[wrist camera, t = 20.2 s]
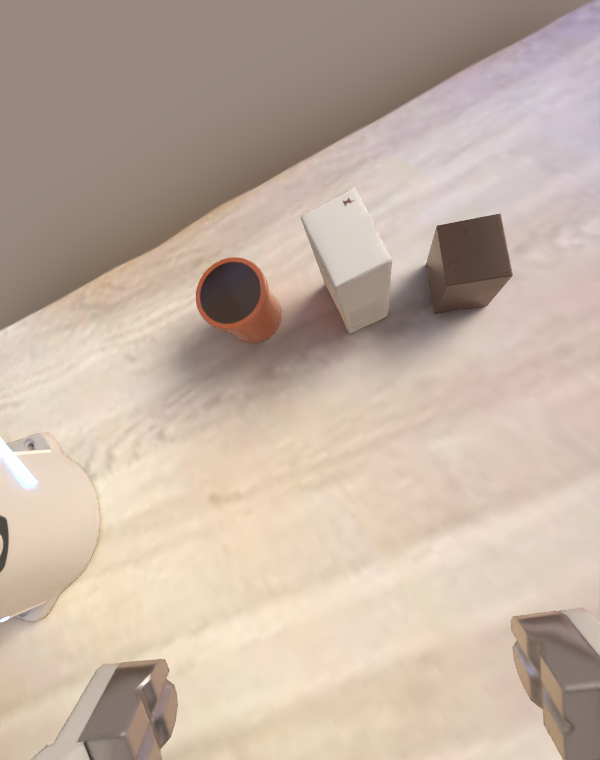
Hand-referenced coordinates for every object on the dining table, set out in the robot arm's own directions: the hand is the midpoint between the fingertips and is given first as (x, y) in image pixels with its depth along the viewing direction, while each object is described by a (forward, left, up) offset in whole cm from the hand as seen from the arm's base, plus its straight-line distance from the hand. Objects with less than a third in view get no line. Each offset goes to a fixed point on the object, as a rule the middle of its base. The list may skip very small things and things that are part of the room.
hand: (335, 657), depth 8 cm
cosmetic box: (+1, +18, -25) cm, 31 cm away
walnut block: (+10, +18, -25) cm, 32 cm away
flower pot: (-9, +18, -25) cm, 32 cm away
